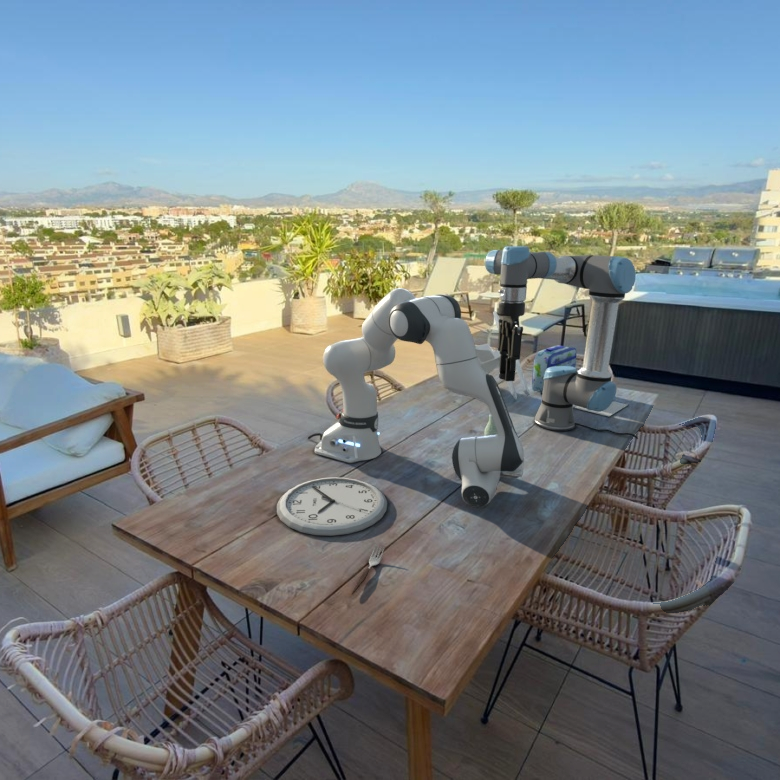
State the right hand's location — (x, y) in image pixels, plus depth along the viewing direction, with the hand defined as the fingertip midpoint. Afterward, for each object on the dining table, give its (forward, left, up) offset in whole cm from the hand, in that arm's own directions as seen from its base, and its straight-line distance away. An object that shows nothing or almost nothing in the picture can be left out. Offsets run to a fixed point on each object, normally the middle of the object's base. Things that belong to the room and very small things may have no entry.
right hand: (506, 378), depth 159 cm
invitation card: (-49, -67, -30) cm, 88 cm away
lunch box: (-32, -88, -30) cm, 98 cm away
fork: (+33, +60, -30) cm, 75 cm away
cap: (0, 0, +1) cm, 1 cm away
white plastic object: (+3, -79, -30) cm, 84 cm away
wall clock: (+47, +32, -30) cm, 64 cm away
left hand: (+3, +4, -23) cm, 24 cm away
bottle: (+3, +5, -30) cm, 30 cm away
